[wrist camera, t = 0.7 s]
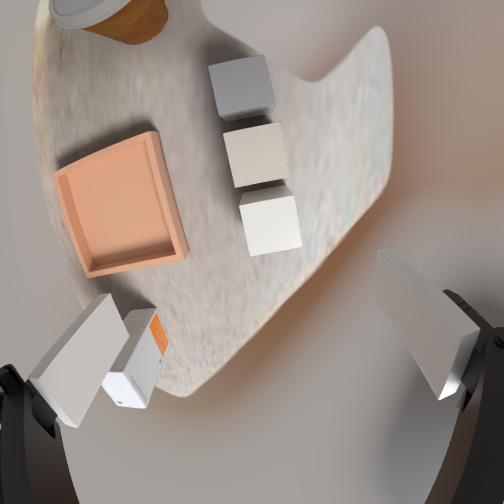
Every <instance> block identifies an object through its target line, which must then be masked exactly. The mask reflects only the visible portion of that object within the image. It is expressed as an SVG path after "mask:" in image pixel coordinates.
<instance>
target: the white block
mask: <svg viewBox="0 0 504 504" xmlns="http://www.w3.org/2000/svg"><path fill="white" fill-rule="evenodd" d="M239 208H240V212H241V217H242V221H243V226H244V230H245V235H246V239H247V244H248V248H249V252H250V256H255V255H260V254H265V253H271V252H276V251H282V250H287V249H292V248H298V247H302V243H301V236H300V229H299V223H298V217H297V211H296V205H295V199H294V195H293V193H292V192H291V191H290V189H289V188H288V187H287V185H283V186H277V187H272V188H266V189H261V190H256V191H251V192H246V193H242V197H241V200H240V204H239Z"/></svg>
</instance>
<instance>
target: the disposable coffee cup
mask: <svg viewBox="0 0 504 504" xmlns="http://www.w3.org/2000/svg"><path fill="white" fill-rule="evenodd" d="M49 12H50V14H51V16H52V17H53V20H54V22H55V23H56V24H57V26H59V27H61V28H63V29H71V30H73V29H83V30H87V31H90V32H93V33H97V34H100V35H103V36H106V37H109V38H112V39H115V40H118V41H121V42H123V43H126V44H131V45H135V44H141V43H144V42H146V41H148V40H150V39H152V38H153V37H154V36H156V35H157V34H158V33H159V32H160V31H161V30H162V29H163V28H164V26H165V24H166V22H167V19H168V10H167V8H166V6H165V3H164V1H163V0H50V1H49Z"/></svg>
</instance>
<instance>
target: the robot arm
mask: <svg viewBox="0 0 504 504" xmlns="http://www.w3.org/2000/svg"><path fill="white" fill-rule="evenodd" d="M377 303H378V304H379V306H380V307H381V308H382V310H383V312H384V313H385V315H386V316H387V317H388V319H389V320H390V322H391V323H392V325H393V326H394V328H395V329H396V331H397V332H398V334H399V336H400V337H401V339H402V340H403V342H404V343H405V345H406V347H407V348H408V350H409V351H410V353H411V355H412V356H413V358H414V359H415V361H416V363H417V364H418V366H419V368H420V369H421V371H422V373H423V374H424V376H425V378H426V379H427V381H428V383H429V385H430V386H431V388H432V390H433V392H434V393H435V395H436V397H437V399H438V400H440V399H442V398H444V397H447V396H449V395H451V394H453V393H455V392H456V391H457V389H458V387H459V384H460V382H461V381H462V382H463V384H464V385H465V387H466V388H465V390H464V392H463V394H462V396H461V399H460V400H459V403H458V404H457V407H458V408H459V406H460V409H459V413H458V417H457V422H456V424H455V428H454V431H453V435H452V438H451V441H450V444H449V447H448V450H447V453H446V455H445V458H444V461H443V463H442V466H441V469H440V471H439V473H438V476H437V478H436V481H435V483H434V485H433V487H432V489H431V491H430V494H429V496H428V498H427V500H426V502H425V504H503V501H504V327H496V328H494V329H493V328H492V326H491V325H490V324H489V323H488V322H486V320H485V319H483V317H481V316H480V315H479V314H478V313H477V312H476V311H475V310H474V309H472V307H471V306H470V305H469V304H468V303H466V302H465V300H463V299H462V298H461V297H460V296H459V295H458V294H456V293H454V292H452V291H450V290H444V291H442V290H440V289H439V288H438V287H437V286H436V285H435V284H434V283H433V282H432V281H431V280H429V279H428V278H427V277H426V276H425V275H424V274H423V273H422V272H420V271H419V270H418V269H417V268H416V267H415V266H414V265H412V264H411V263H410V262H409V261H408V260H407V259H405V258H404V257H403V256H402V255H401V254H399V253H398V252H397V251H396V250H395V249H393V248H392V247H389V248H384V249H378V250H377ZM128 338H129V334H128V332H127V330H126V328H125V325H124V323H123V321H122V319H121V317H120V314H119V312H118V310H117V308H116V305H115V303H114V301H113V298H112V296H111V294H110V293H105V294H99V295H98V296H97V297H96V298H95V299H94V300H93V301H92V302H91V304H90V305H89V306H88V307H87V308H86V309H85V310H84V311H83V312H82V313H81V314H80V315H79V317H78V318H77V319H76V320H75V321H74V322H73V323H72V324H71V325H70V327H69V328H68V329H67V330H66V331H65V332H64V333H63V335H62V336H61V337H60V338H59V339H58V340H57V342H56V343H55V344H54V345H53V346H52V347H51V349H50V350H49V351H48V352H47V353H46V355H45V356H44V357H43V358H42V360H41V361H40V362H39V363H38V365H37V366H36V367H35V368H34V370H33V371H32V372H31V374H30V375H29V376H28V380H27V381H26V382H24V381H23V379H22V378H21V376H20V375H19V373H18V372H17V371H16V369H15V368H14V366H13V365H12V364H8V365H5V366H3V367H1V368H0V389H1V390H2V392H1V391H0V424H1V430H0V504H79V501H78V498H77V495H76V492H75V489H74V486H73V482H72V479H71V475H70V472H69V468H68V464H67V460H66V456H65V451H64V447H63V442H62V437H61V432H60V426H59V424H58V423H57V421H56V420H55V419H56V417H57V416H59V418H60V419H61V420H62V421H63V422H64V423H65V424H66V425H69V426H72V427H76V428H78V427H79V425H80V422H81V421H82V419H83V417H84V415H85V413H86V411H87V409H88V407H89V405H90V404H91V402H92V400H93V398H94V396H95V395H96V393H97V391H98V389H99V387H100V385H101V384H102V382H103V380H104V378H105V377H106V375H107V373H108V371H109V370H110V368H111V366H112V365H113V363H114V361H115V359H116V358H117V356H118V354H119V353H120V351H121V349H122V348H123V346H124V344H125V343H126V341H127V339H128ZM460 404H461V405H460Z"/></svg>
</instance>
